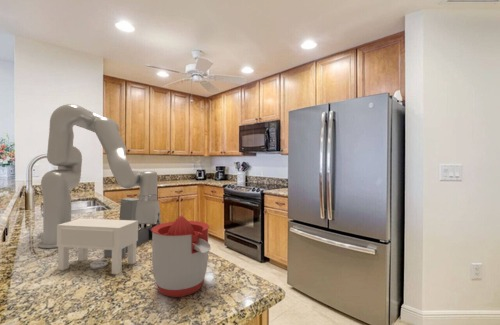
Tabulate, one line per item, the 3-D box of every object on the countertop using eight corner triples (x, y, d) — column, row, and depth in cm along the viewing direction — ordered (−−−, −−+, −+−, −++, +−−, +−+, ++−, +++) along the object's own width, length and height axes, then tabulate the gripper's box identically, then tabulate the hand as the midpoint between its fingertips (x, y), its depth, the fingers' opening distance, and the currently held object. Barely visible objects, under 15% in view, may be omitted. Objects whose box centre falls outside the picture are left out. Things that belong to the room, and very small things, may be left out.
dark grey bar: (104, 257, 93) (104, 242, 93) (143, 236, 119) (143, 225, 119) (124, 258, 92) (124, 243, 92) (159, 237, 118) (159, 225, 118)
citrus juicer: (183, 312, 59) (184, 226, 59) (138, 291, 68) (138, 217, 68) (224, 284, 72) (225, 215, 72) (182, 270, 82) (182, 208, 82)
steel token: (86, 269, 83) (86, 264, 83) (97, 263, 88) (97, 259, 88) (100, 270, 82) (100, 265, 82) (110, 264, 87) (110, 259, 87)
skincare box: (118, 229, 132) (118, 198, 132) (129, 226, 138) (129, 197, 138) (130, 231, 128) (130, 199, 128) (141, 227, 135) (141, 198, 135)
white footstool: (55, 270, 81) (55, 225, 81) (81, 258, 92) (81, 218, 92) (118, 275, 78) (118, 228, 78) (137, 262, 88) (137, 220, 88)
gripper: (127, 198, 113) (127, 240, 113) (160, 199, 111) (160, 241, 111) (137, 196, 120) (136, 235, 120) (168, 197, 118) (168, 236, 118)
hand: (148, 238), depth 116 cm, fingers closed on dark grey bar, 2 cm apart
